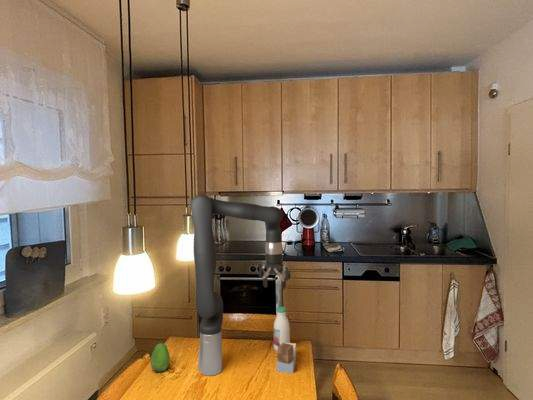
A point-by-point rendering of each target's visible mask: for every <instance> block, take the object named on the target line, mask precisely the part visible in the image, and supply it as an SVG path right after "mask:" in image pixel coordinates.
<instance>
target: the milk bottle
mask: <svg viewBox="0 0 533 400" xmlns="http://www.w3.org/2000/svg"><path fill="white" fill-rule="evenodd" d="M290 331H291V329H290V322H289V319H288V317H287V308H286V307H285V306H277V307H276V316H275V319H274V322H273V350H274V351H276V352H278V350H277V347H278V346H280V345H281V344H282V343H291V339H290V338H291V337H290V336H291V334H290V333H291V332H290Z"/></svg>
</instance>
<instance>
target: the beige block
mask: <svg viewBox="0 0 533 400" xmlns="http://www.w3.org/2000/svg"><path fill="white" fill-rule="evenodd" d="M286 344H290V345H293V356H295V360H297V359H296V358H297V343H292V342H290V343H286Z"/></svg>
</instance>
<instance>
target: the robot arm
mask: <svg viewBox="0 0 533 400" xmlns="http://www.w3.org/2000/svg"><path fill="white" fill-rule="evenodd" d="M189 208H190V211H191V215H192V221H193V227H194V228H193V233H194V234H193V235H194V236H193V260H194V270H195V271H194V272H195V282H196V284H195V285H196V290H195V292H196V295H195V296H196V298H195V300H196V301H195V308H196V312H197V314H198V315H199V317H201V322H200V324H199V348H198V350H197V354H198V355H197V359H198V361H197V362H198V372H200V373H201V374H202V375H204V376H208V377H209V376H215V375H219V374H220V373H221V372H222V371H223V342H222V341H223V337H222V335H223V334H222V331H223V330H222V328H223V327H222V326H223V322H224V301H223V298H222V296H221V294H220V293H219V292H218V291H215V290H214V279H215V276H216V275H215V274H216V269H217V258H218V257H217V248H216V247H217V246H216V242H215V241H216V240H215V235H214V231H213V216H214V215H218V216H225V217H231V218H235V219H241V220H248V221H260V222H264V225H265V263H264V262H262V263H260V264H258V277H259V278H261V279H262V285H263V287H264V288H265V289H266V288H267V287H268V277H269V275H271V276H278V278H280V280H281V290H283V291H284V290H285V289H286V288H287V281H289V280H290V279H291V270H290V269H291V267H290V266H289V265H283V263H284V262H283V259H284V258H283V256H284V255H283V254H284V253H283V252H284V249H283V234H282V230H281V224H280V223H281V222H282V220H283V217H284V213H283V211H282V210H281V208H279V207H277V206H267V205H266V206H265V205H264V206H263V205H259V204H255V203H248V202H238V201H237V202H236V201H227V200H226V201H225V200H221V199H217V198H213V197H210V196H207V195H206V194H197V195H195V196H193V198H191V201H190V203H189ZM265 269H266V272H264V271H265ZM283 271H284V272H283Z"/></svg>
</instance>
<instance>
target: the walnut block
mask: <svg viewBox="0 0 533 400" xmlns="http://www.w3.org/2000/svg"><path fill="white" fill-rule="evenodd" d="M277 350H278V351H277V360H278V361H279V362H282V363H286V364H289V363H290V362H291V361H292V360H293V345H290V344H286V343H282V344H281V345H280V346H278V347H277Z"/></svg>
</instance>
